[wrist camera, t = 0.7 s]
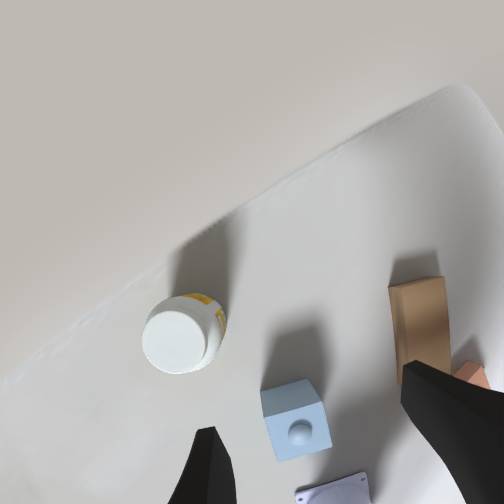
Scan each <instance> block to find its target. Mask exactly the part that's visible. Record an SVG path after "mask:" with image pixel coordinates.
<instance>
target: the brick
mask: <svg viewBox="0 0 504 504" xmlns="http://www.w3.org/2000/svg"><path fill="white" fill-rule="evenodd" d="M452 376H454V377H456V378H459V379H461V380H464V381H466V382H469V383H472V384H474V385H477V386H480V387H483V388H487V389H490V386H489V383H488V381H487V378H486V375H485V373H484V370H483V367H482V366H481V365H478V364H475V363H472V362H470V361H466V362H465V363H464V364H463V365H462V366H461V367H460V368H459V369H458V370H457V371H456V372H455V373H454V374H453V375H452ZM490 390H491V389H490Z"/></svg>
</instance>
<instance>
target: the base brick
mask: <svg viewBox="0 0 504 504" xmlns="http://www.w3.org/2000/svg"><path fill="white" fill-rule="evenodd" d="M388 289H389V296H390V304H391V311H392V320H393V329H394V338H395V349H396V361H397V375H398V384H400V385H401V386H402V372H403V365H405V364H407V363H409V362H412V361H414V360H418V361H420V362H423V363H425V364H427V365H429V366H431V367H434V368H436V369H438V370H440V371H442V372H445V373H447V374H449V375H451V354H450V333H449V319H448V308H447V298H446V289H445V281H444V276H440V277H426V278H423V279H419V280H415V281H411V282H407V283H403V284H399V285H395V286H391V287H388Z"/></svg>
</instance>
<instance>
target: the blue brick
mask: <svg viewBox="0 0 504 504" xmlns="http://www.w3.org/2000/svg"><path fill="white" fill-rule="evenodd" d="M260 396H261V403H262V409H263V416H264V420H265V424H266V427H267V430H268V433H269V437H270V440H271V443H272V446H273V449H274V452H275V456H276V459H277V462H282V461H286V460H290V459H294V458H297V457H301V456H304V455H308V454H311V453H314V452H318V451H321V450H324V449H327V448H330V447H332V442H331V438H330V433H329V429H328V424H327V420H326V416H325V411H324V407H323V403H322V400H321V399H320V397H319V395H318V394H317V392H316V391H315V389H314V388H313V386H312V385H311V383H310V382H309V380H308V378H306V379H302V380H299V381H296V382H292V383H289V384H285V385H281V386H278V387H274V388H270V389H267V390H263V391H260Z"/></svg>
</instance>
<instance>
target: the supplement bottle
mask: <svg viewBox="0 0 504 504" xmlns="http://www.w3.org/2000/svg"><path fill="white" fill-rule="evenodd" d="M225 332H226V316H225V313H224V311H223V309H222V307H221V306H220V305H219V303H218V302H217V301H215V300H214V299H213V298H211V297H209V296H207V295H204V294H200V293H190V294H185V295H181V296H176V297H172V298H169V299H166V300H164V301H162V302H161V303H159V304H158V305H157V306H156V307H155V308H154V309H153V310H152V311H151V313H150V315H149V317H148V319H147V322H146V325H145V327H144V330H143V333H142V346H143V350H144V353H145V355H146V357H147V358H148V360H149V361H150V362H151V363H152V364H153V365H154V366H155V367H156V368H158V369H160V370H162V371H164V372H167V373H171V374H181V373H185V372H191V371H196V370H198V369H201V368H203V367H204V366H206V365H207V364H208V363H210V362H211V361H212V360H213V358H214V357H215V355H216V354H217V352H218V350H219V348H220V345H221V342H222V340H223V338H224V335H225Z"/></svg>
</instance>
